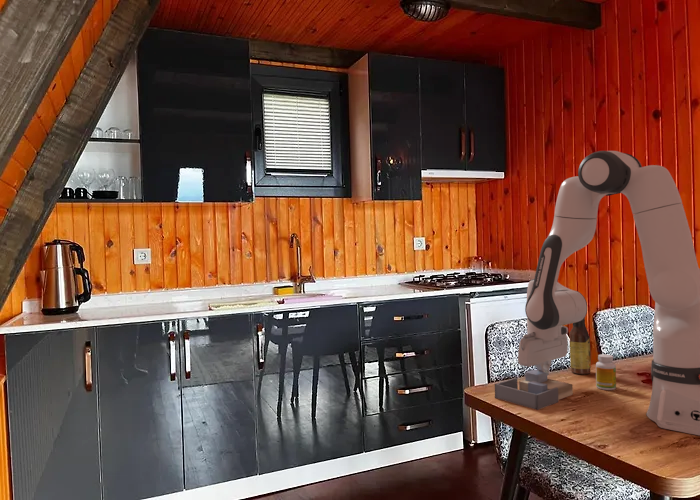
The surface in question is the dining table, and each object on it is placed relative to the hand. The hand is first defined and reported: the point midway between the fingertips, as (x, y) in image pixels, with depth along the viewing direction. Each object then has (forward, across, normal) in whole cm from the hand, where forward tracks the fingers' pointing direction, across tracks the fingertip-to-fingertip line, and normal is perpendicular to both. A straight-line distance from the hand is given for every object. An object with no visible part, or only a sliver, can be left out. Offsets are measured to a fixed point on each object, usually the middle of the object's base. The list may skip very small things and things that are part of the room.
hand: (543, 375), depth 162 cm
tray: (+4, -13, -3) cm, 14 cm away
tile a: (+1, -10, -6) cm, 12 cm away
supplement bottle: (+4, +14, -12) cm, 19 cm away
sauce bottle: (+4, +24, +2) cm, 24 cm away
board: (+4, -4, -3) cm, 6 cm away
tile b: (+1, -4, 0) cm, 4 cm away
